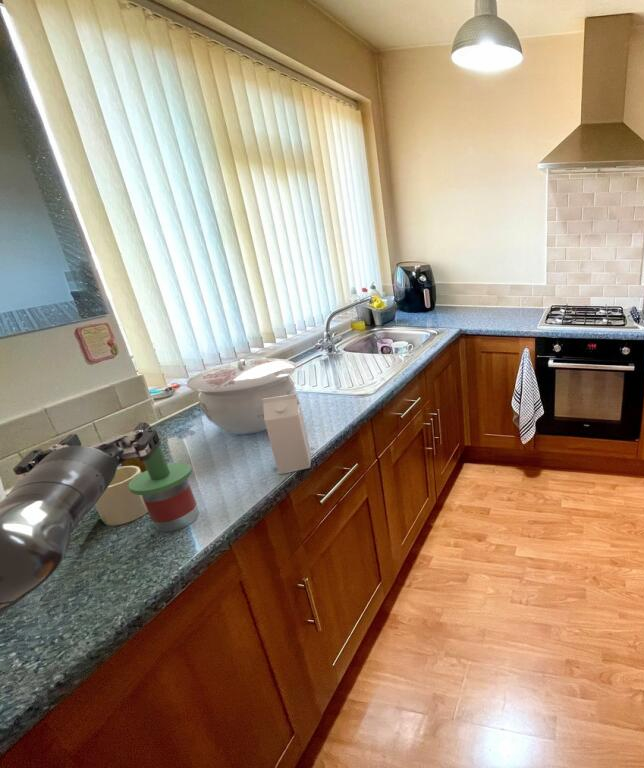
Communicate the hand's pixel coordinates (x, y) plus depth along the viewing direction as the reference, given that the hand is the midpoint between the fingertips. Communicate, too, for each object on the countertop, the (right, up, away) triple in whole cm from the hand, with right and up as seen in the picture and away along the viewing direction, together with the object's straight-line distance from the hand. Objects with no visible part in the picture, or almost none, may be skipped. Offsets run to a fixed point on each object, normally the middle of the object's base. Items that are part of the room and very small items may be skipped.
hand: (111, 433), depth 65 cm
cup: (-17, -20, +21) cm, 34 cm away
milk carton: (+9, -13, +38) cm, 41 cm away
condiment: (-22, -16, +32) cm, 42 cm away
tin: (-5, -20, +19) cm, 28 cm away
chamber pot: (-14, -4, +60) cm, 61 cm away
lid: (-5, -11, +15) cm, 19 cm away
